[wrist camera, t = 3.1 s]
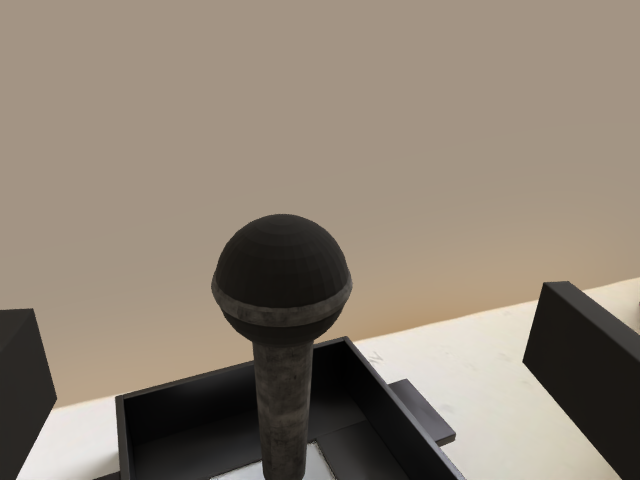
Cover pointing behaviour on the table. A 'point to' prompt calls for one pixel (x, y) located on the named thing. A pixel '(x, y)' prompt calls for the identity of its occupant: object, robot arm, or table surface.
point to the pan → (323, 424)
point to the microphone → (282, 322)
